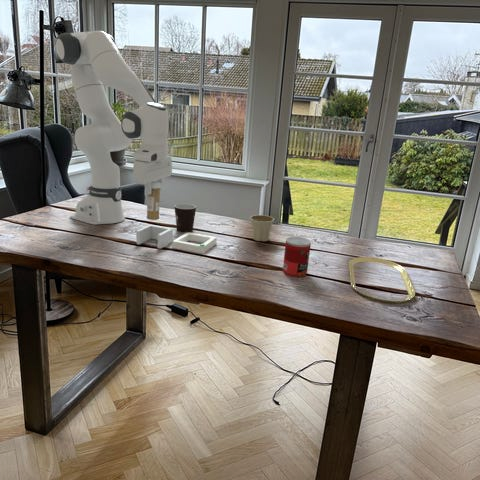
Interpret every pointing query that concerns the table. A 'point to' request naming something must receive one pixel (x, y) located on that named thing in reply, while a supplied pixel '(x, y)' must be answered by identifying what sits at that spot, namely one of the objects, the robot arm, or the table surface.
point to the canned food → (296, 256)
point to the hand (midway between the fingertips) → (153, 192)
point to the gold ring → (392, 264)
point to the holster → (155, 235)
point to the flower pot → (261, 227)
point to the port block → (184, 245)
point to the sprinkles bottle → (153, 201)
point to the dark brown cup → (185, 217)
